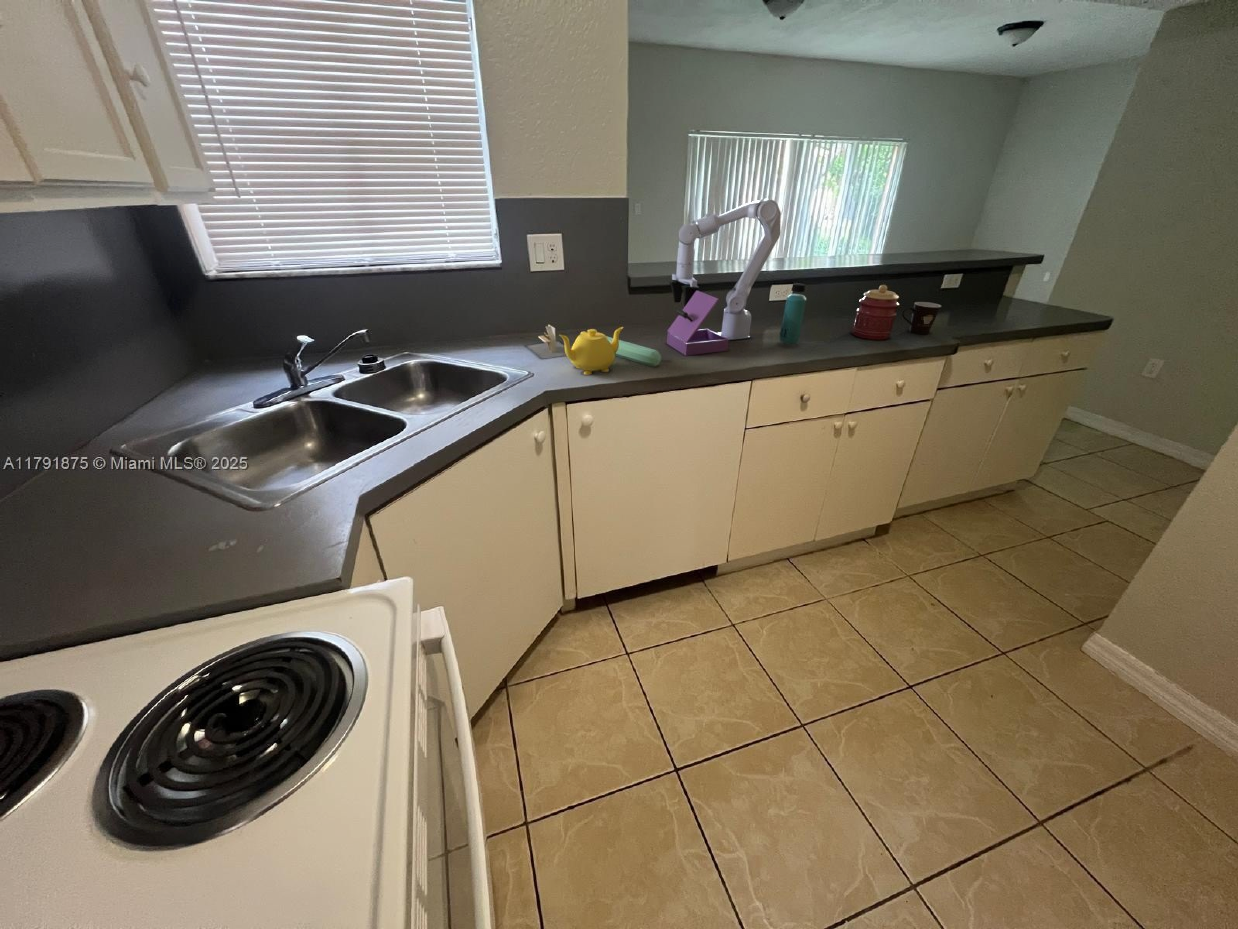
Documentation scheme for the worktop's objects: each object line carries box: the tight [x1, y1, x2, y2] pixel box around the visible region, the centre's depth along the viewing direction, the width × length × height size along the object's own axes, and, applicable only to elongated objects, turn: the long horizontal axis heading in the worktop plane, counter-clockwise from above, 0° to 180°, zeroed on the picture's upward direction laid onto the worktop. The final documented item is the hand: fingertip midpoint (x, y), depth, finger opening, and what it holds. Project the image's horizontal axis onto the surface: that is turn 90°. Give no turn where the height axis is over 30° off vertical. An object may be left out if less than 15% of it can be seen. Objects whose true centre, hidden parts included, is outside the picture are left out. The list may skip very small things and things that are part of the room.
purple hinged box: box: [667, 290, 720, 343], centre depth 155 cm, size 16×14×5 cm
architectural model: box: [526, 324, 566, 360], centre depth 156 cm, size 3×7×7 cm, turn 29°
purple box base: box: [666, 328, 730, 356], centre depth 162 cm, size 16×14×4 cm
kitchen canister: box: [851, 284, 901, 341], centre depth 174 cm, size 13×13×18 cm
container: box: [605, 335, 662, 368], centre depth 151 cm, size 6×6×25 cm
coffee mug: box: [901, 301, 942, 335], centre depth 182 cm, size 12×9×10 cm
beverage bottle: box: [779, 283, 807, 344], centre depth 161 cm, size 6×7×20 cm
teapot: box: [558, 326, 624, 376], centre depth 141 cm, size 20×15×12 cm
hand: (682, 304), depth 171 cm, fingers open, 7 cm apart
